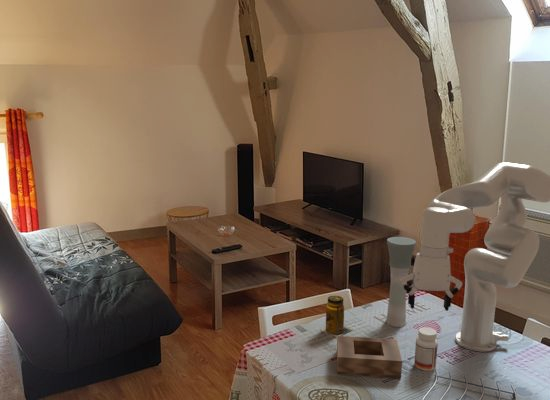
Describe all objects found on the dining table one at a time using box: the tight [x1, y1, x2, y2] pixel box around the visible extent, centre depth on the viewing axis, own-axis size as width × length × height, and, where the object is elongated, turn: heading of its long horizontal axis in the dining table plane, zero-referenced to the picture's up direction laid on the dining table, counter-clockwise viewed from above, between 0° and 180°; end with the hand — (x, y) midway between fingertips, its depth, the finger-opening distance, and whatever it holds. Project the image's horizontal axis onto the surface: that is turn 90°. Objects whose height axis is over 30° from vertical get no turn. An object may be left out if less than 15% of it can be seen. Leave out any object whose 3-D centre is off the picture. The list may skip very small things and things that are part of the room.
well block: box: [336, 335, 403, 380], centre depth 153 cm, size 18×13×6 cm
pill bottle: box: [414, 326, 439, 372], centre depth 152 cm, size 6×6×11 cm
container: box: [385, 236, 417, 328], centre depth 179 cm, size 10×10×30 cm
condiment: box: [320, 295, 353, 338], centre depth 174 cm, size 7×8×12 cm
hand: (428, 307), depth 149 cm, fingers open, 9 cm apart
